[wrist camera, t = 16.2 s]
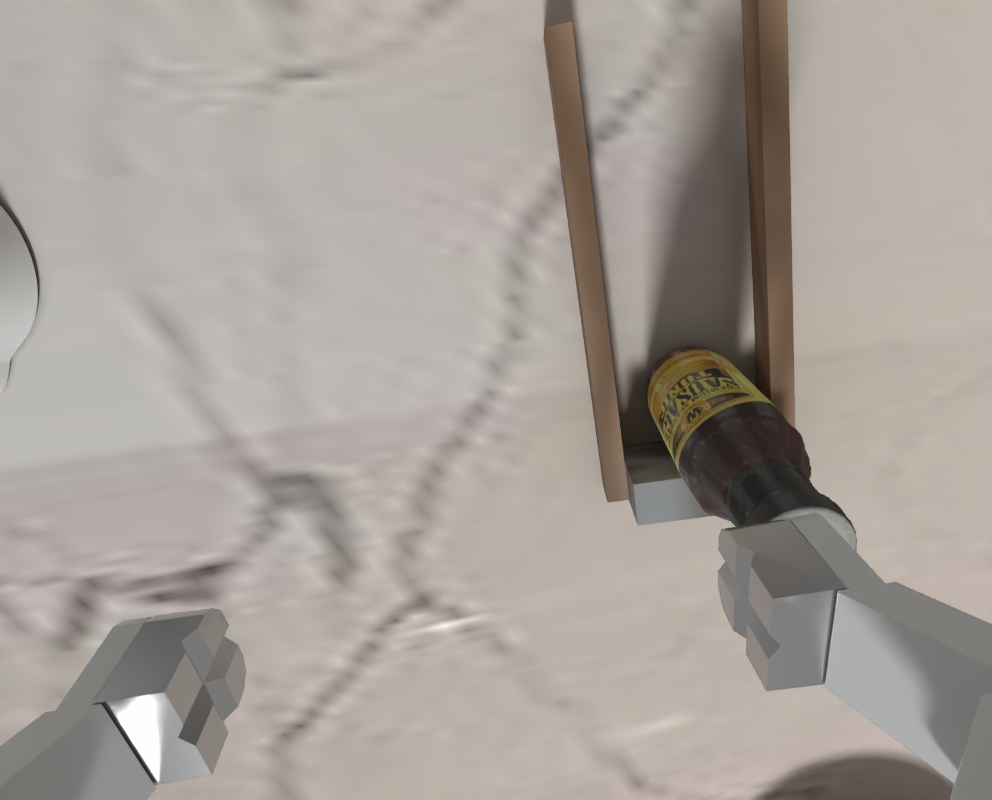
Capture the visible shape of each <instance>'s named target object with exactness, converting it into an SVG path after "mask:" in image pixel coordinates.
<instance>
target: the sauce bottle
mask: <svg viewBox="0 0 992 800" xmlns="http://www.w3.org/2000/svg"><path fill="white" fill-rule="evenodd" d="M646 391H647V399H648V406H649V410H650V412H651V414H652V416H653V418H654V421H655V423H656V425H657V427H658V429H659V431H660V433H661V435H662V437H663V439H664V441H665V444H666V446H667V448H668V450H669V452H670V454H671V456H672V458H673V460H674V462H675V464H676V467H677V469H678V471H679V473H680V475H681V477H682V478H683V480H684V481H685V483H686V484H687V486H688V487H689V489H690V490H691V492H692V494H693V495H694V497H695V498H696V500H697V501H698V503H699V504H700V506H701V507H702V509H703V510H704V511H705V512H706V513H708V514H711V515H714V516H717V517H720V518H723V519H726V520H728V521H731V522H732V523H733V524H734V525H735V526H736V527H739V526H745V525H751V524H757V523H763V522H770V521H776V520H784V519H785V518H790V517H796V516H801V515H807V514H813V513H817V514H819V515H822V516H823V517H824V518H825V519H826V520H827V521H828V522H829V523H830V524H831V525H832V526H833V527H834V529H835V530H836V531H837V532H838V533H839V534H840V535H841V536H842V537H843V538H844V539H845V540H846V541H847V542H848V544H849V545H850V546H851V547H852V548H853V549H854V550H855V551H856V544H857V538H856V531H855V529H854V527H853V525H852V523H851V521H850V520H849V519H848V518H847V517H846V515H845V514H844V512H843V511H842V509H841V508H840V507H839V506H838V505H837V504H836V503H835V502H833V501H832V500H830V499H829V498H828V497H826V496H825V495H823V494H820V493H819V492H818V491H817V490H816V489H815V488H814V487H813V486H812V483H811V482H810V480H809V479H810V476H811V466H810V461H809V457H808V455H807V452H806V450H805V445H804V442H803V440H802V436H801V435H800V433H799V432H798V431H797V430H796V429H795V428H794V427H792V426H791V425H790V423H788V422H787V420H786V418H785V417H784V415H783V414H782V413H781V411H780V410H779V409H778V408H776V407H775V406H774V405H773V404H772V403H771V402H770V401H769V400H768V399H767V398H766V397H765V396H764V395H763V394H762V393H761V392H760V391H759V390H758V389H757V388H756V387H755V386H754V385H753V384H752V383H751V382H750V381H749V380H748V379H747V378H746V377H745V376H744V375H743V374H742V373H741V372H740V371H739V370H738V369H737V368H736V367H735V366H734V365H733V364H732V363H731V362H730V361H729V360H727V359H726V358H724V357H723V356H721V355H720V354H718V353H716V352H714V351H713V350H709V349H705V348H700V347H687V348H683V349H680V350H677V351H674V352H672V353H671V354H668V355H666V356H665V357H664V359H662V360H660V361H659V362H658V364H657V365H656V366H655V368H654V370H653V372H652V374H651V376H650V378H649V382H648V385H647V389H646Z"/></svg>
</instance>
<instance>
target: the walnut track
mask: <svg viewBox="0 0 992 800" xmlns="http://www.w3.org/2000/svg"><path fill="white" fill-rule="evenodd" d="M742 21H743V47H744V72H745V97H746V122H747V148H748V173H749V198H750V223H751V249H752V274H753V299H754V324H755V350H756V375H757V389H758V390H759V391H760V392H761V393H762V394H763V395H764V396H765V397H766V398H767V399H768V400H769V401H770V402H771V403H772V404H773V405H774V406H775V407H776V408H778V409H779V410H780V411H781V413H782V414H783V415H784V417H785V418H786V420H787V422H788V423H790V425H791V426H792V427H794V428H795V397H794V344H793V290H792V237H791V183H790V130H789V76H788V23H787V0H742ZM544 45H545V53H546V60H547V68H548V75H549V83H550V90H551V98H552V105H553V113H554V120H555V128H556V135H557V143H558V150H559V158H560V165H561V173H562V180H563V188H564V195H565V203H566V210H567V218H568V225H569V233H570V240H571V248H572V255H573V263H574V270H575V278H576V285H577V293H578V300H579V308H580V315H581V323H582V330H583V338H584V345H585V353H586V360H587V368H588V375H589V383H590V390H591V398H592V405H593V413H594V420H595V428H596V435H597V443H598V450H599V458H600V465H601V473H602V480H603V487H604V491H605V494H606V498H607V502H615V501H622V500H629V501H630V504H631V507H632V510H633V513H634V516H635V519H636V521H637V524H638V525H645V524H653V523H660V522H668V521H676V520H683V519H691V518H699V517H706V516H714V515H711V514H708V513H706V512H705V511H704V510H703V509H702V507H701V506H700V504H699V503H698V501H697V500H696V498H695V497H694V495H693V494H692V492H691V490H690V489H689V487H688V486H687V484H686V483H685V481H684V480H683V478H682V477H681V475H680V473H679V471H678V469H677V467H676V464H675V462H674V460H673V458H672V456H671V454H670V452H669V450H668V448H667V446H666V444H665V441H659V442H652V443H645V444H638V445H631V446H624V447H623V446H622V437H621V429H620V421H619V412H618V404H617V395H616V387H615V379H614V370H613V362H612V353H611V345H610V337H609V328H608V320H607V311H606V303H605V295H604V286H603V278H602V269H601V261H600V252H599V244H598V236H597V227H596V219H595V210H594V202H593V194H592V185H591V177H590V168H589V160H588V152H587V143H586V135H585V126H584V118H583V110H582V101H581V93H580V84H579V76H578V68H577V59H576V51H575V42H574V34H573V26H572V21H571V22H566V23H562V24H557V25H552V26H548V27H545V32H544Z"/></svg>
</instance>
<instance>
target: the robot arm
mask: <svg viewBox="0 0 992 800" xmlns="http://www.w3.org/2000/svg"><path fill="white" fill-rule="evenodd" d="M37 301H38V288H37V279H36V273H35V269H34V265H33V262H32V258H31V255H30V253H29V250H28V248H27V246H26V243H25V241H24V239H23V237H22V235H21V234H20V232H19V230H18V229H17V227H16V225H15V224H14V222H13V221H12V219H11V218H10V217H9V215H8V214H7V213H6V211H5V210H4V209H3V208H2V207H1V205H0V393H1V392H2V391H3V390H4V388H5V386H6V383H7V379H8V374H9V367H10V360H11V358H12V356H13V354H14V353H15V351H16V350H17V349H18V348H19V346H20V345H21V344H22V342H23V341H24V340H25V338H26V337H27V335H28V333H29V331H30V329H31V327H32V325H33V322H34V318H35V315H36V310H37ZM718 550H719V551H720V553H721V555H722V556H723V558H724V560H725V563H724V564H723V565H722V567H721V568H720V569H719V570H718V588H719V593H720V598H721V603H722V606H723V609H724V611H725V614H726V617H727V619H728V621H729V623H730V625H731V627H732V629H733V630H734V631H735V632H737V633H738V634H740V635H742V636H743V637H745V638H746V639H747V641H746V655H747V657H748V658H749V660H750V662H751V664H752V666H753V668H754V669H755V671H756V673H757V675H758V677H759V679H760V680H761V682H762V684H763V686H764V688H765V690H766V691H772V690H780V689H788V688H797V687H805V686H813V685H821V684H825V688H827V689H828V690H829V691H831V692H832V693H833V694H835V695H836V696H837V697H839V698H840V699H841V700H843V701H844V702H845V703H847V704H848V705H849V706H851V707H852V708H853V709H855V710H856V711H857V712H859V713H860V714H861V715H863V716H864V717H865V718H867V719H868V720H870V721H871V722H872V723H874V724H875V725H876V726H878V727H879V728H880V729H882V730H883V731H884V732H886V733H887V734H888V735H890V736H891V737H892V738H894V739H895V740H896V741H898V742H899V743H900V744H902V745H903V746H904V747H906V748H907V749H908V750H910V751H911V752H912V753H914V754H915V755H917V756H918V757H919V758H921V759H922V760H923V761H925V762H926V763H927V764H929V765H930V766H931V767H933V768H934V769H935V770H937V771H938V772H939V773H941V774H942V775H943V776H945V777H946V778H947V779H949V780H950V781H951V782H953V783H954V787H953V790H952V794H951V797H950V800H992V624H990V623H988V622H985V621H983V620H981V619H979V618H976V617H974V616H972V615H969V614H967V613H965V612H963V611H960V610H958V609H956V608H954V607H951V606H949V605H947V604H945V603H942V602H940V601H938V600H935V599H933V598H931V597H929V596H926V595H924V594H922V593H920V592H917V591H915V590H913V589H910V588H908V587H906V586H904V585H901V584H899V583H897V582H893V583H885V582H884V581H883V580H882V579H881V578H880V577H879V576H878V575H877V574H876V573H875V571H874V570H873V569H872V568H871V567H870V566H869V565H868V564H867V563H866V562H865V561H864V560H863V559H862V558H861V556H860V555H859V554H858V553H857V552H856V551H855V550H854V549H853V548H852V547H851V546H850V545H849V544H848V542H847V541H846V540H845V539H844V538H843V537H842V536H841V535H840V534H839V533H838V532H837V531H836V530H835V529H834V527H833V526H832V525H831V524H830V523H829V522H828V521H827V520H826V519H825V518H824V517H823V516H822V515H819V514H817V513H813V514H807V515H801V516H796V517H790V518H785V519H784V520H776V521H770V522H763V523H757V524H751V525H745V526H739V527H733V528H726V529H721V532H720V535H719V546H718ZM228 626H229V624H228V623H227V621H226V619H225V617H224V615H223V613H222V611H221V610H218V609H213V608H211V609H203V610H196V611H188V612H180V613H173V614H165V615H158V616H153V617H147V618H139V619H132V620H124V621H122V622H121V623H119V624H117V625H116V626H114V627H113V628H112V630H111V631H110V633H109V634H108V635H107V637H106V638H105V640H104V641H103V643H102V644H101V646H100V647H99V649H98V650H97V651H96V653H95V654H94V656H93V657H92V659H91V660H90V662H89V663H88V664H87V666H86V667H85V669H84V670H83V672H82V673H81V675H80V676H79V678H78V679H77V680H76V682H75V683H74V685H73V686H72V688H71V689H70V691H69V692H68V693H67V695H66V696H65V698H64V699H63V701H62V702H61V704H60V705H59V707H58V708H57V709H56V711H51V712H45V713H44V714H43V715H41V716H40V717H39V718H37V719H36V720H35V721H33V722H32V723H31V724H29V725H28V726H27V727H25V728H24V729H23V730H21V731H20V732H19V733H17V734H16V735H15V736H13V737H12V738H11V739H9V740H8V741H7V742H5V743H4V744H3V745H1V746H0V800H147V798H148V797H149V796H150V795H151V794H152V793H153V792H154V790H155V789H156V786H155V785H159V784H165V783H170V782H176V781H181V780H187V779H192V778H198V777H203V776H209V775H212V774H213V771H214V769H215V766H216V763H217V761H218V758H219V756H220V753H221V750H222V748H223V745H224V742H225V740H226V737H227V735H228V731H227V728H226V726H225V723H224V720H225V719H226V718H227V717H228V716H229V715H230V714H231V713H232V712H233V711H234V710H235V709H236V708H237V707H238V705H239V703H240V700H241V697H242V694H243V691H244V686H245V674H246V668H245V663H244V657H243V654H242V652H241V650H240V648H239V645H237V644H236V643H234V642H233V641H231V640H229V639H228V638H226V637H224V636H225V633H226V631H227V628H228Z"/></svg>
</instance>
